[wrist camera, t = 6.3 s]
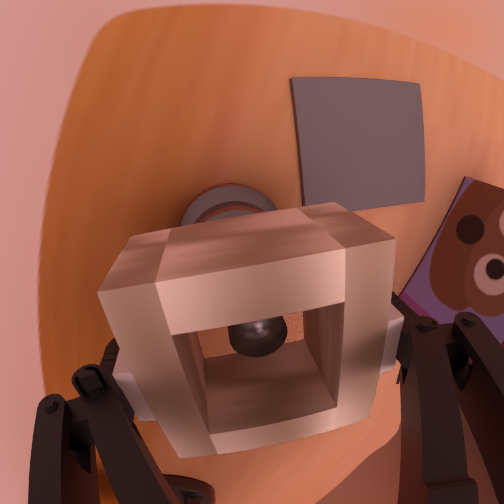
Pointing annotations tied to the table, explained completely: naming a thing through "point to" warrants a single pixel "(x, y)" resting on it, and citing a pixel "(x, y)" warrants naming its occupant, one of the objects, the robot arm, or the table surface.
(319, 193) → the rubber mat
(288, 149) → the table surface
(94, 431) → the robot arm
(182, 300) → the square frame
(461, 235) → the cereal box
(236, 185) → the steel stand
